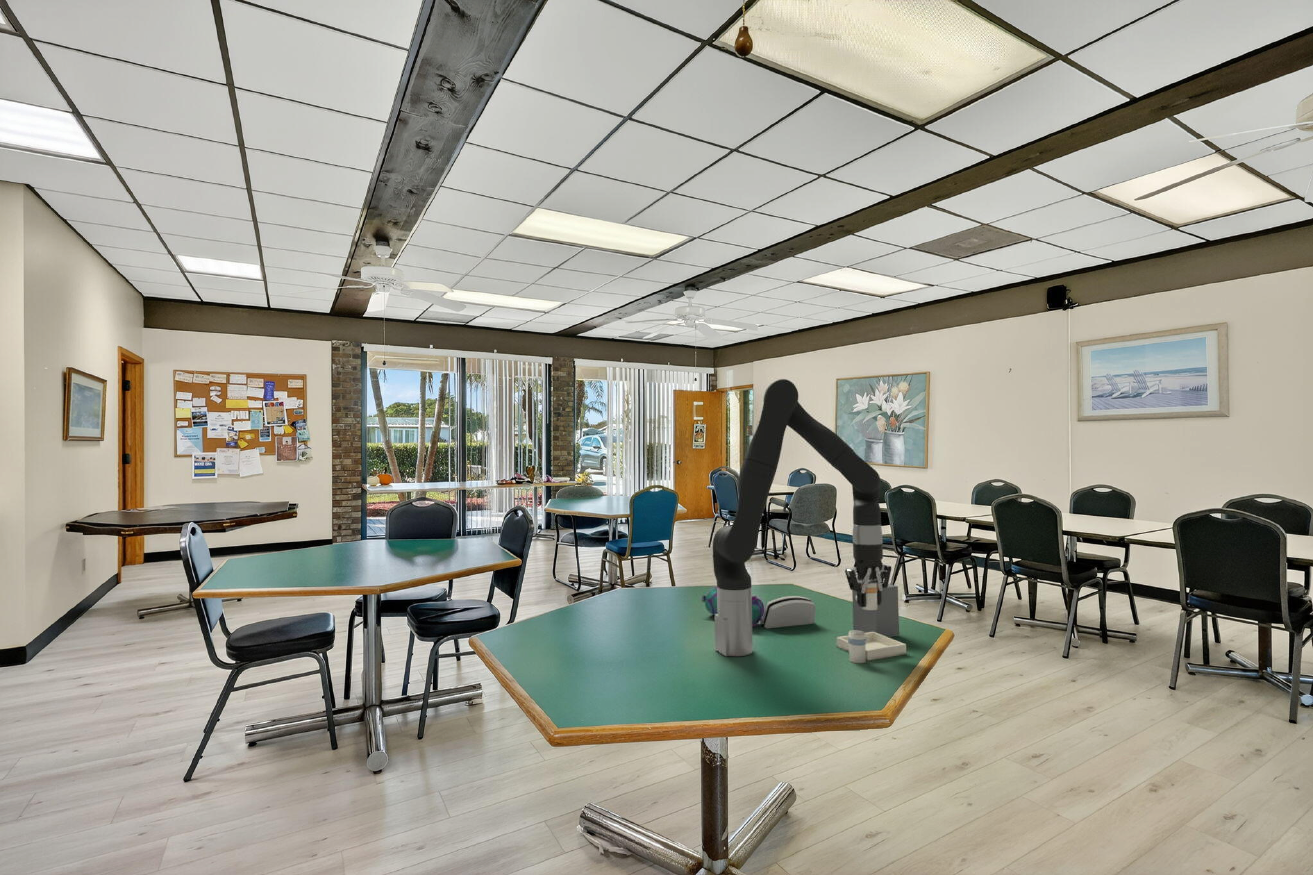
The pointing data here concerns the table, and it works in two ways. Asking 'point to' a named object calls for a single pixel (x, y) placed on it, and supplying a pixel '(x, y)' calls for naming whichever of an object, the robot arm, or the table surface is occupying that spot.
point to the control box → (878, 614)
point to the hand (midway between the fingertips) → (869, 605)
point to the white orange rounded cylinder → (871, 596)
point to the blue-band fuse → (857, 646)
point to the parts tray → (876, 646)
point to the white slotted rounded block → (788, 612)
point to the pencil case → (712, 608)
